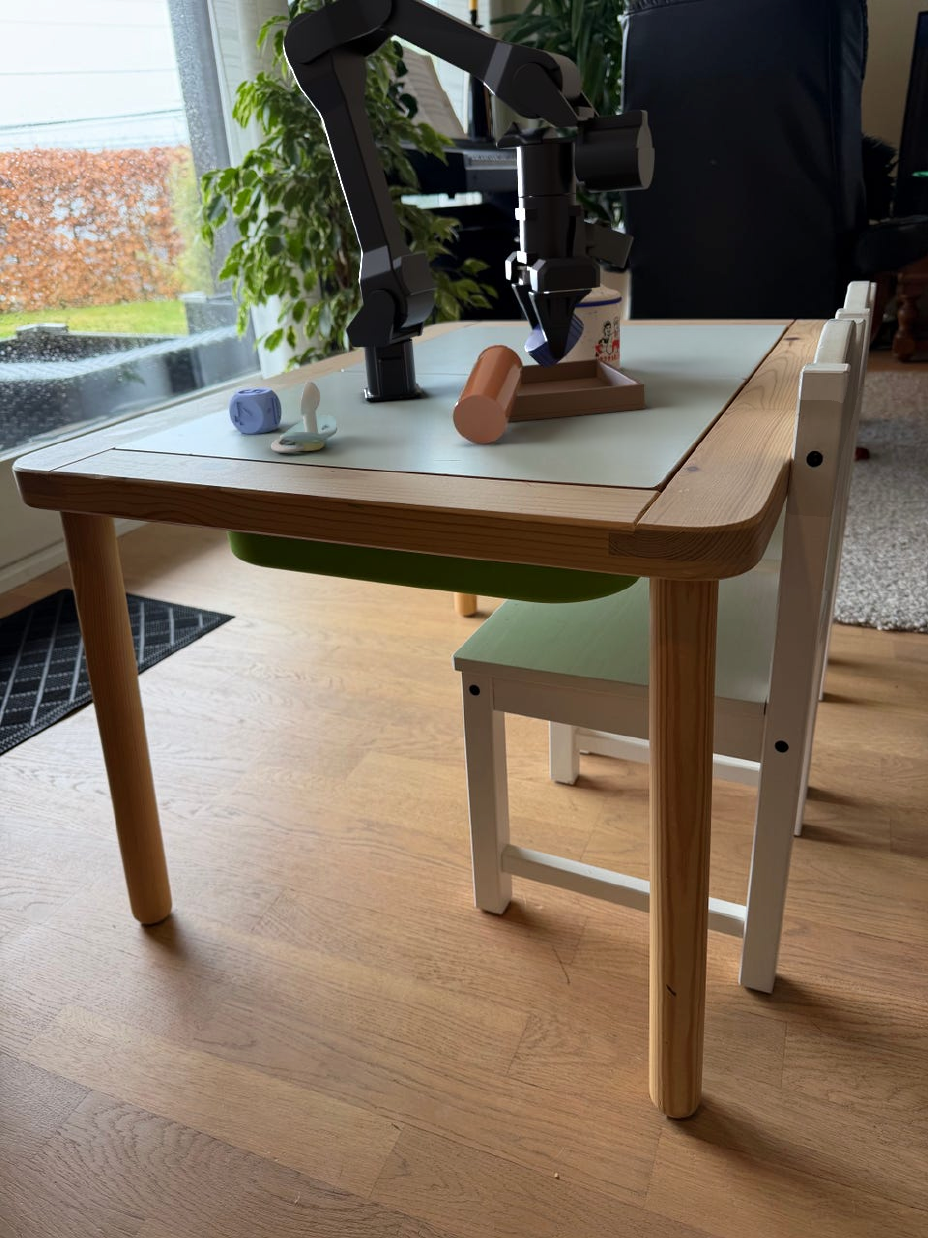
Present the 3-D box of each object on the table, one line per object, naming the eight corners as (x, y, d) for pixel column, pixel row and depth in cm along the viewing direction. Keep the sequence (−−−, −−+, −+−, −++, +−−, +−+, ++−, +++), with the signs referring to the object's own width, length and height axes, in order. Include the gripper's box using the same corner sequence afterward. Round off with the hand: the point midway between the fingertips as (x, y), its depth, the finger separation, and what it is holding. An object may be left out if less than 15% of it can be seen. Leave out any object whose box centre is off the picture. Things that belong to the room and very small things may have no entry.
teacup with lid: (609, 379, 112) (608, 275, 108) (537, 377, 116) (534, 277, 111) (636, 361, 122) (637, 265, 117) (570, 360, 126) (568, 267, 121)
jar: (449, 437, 88) (472, 384, 96) (501, 449, 88) (520, 394, 96) (456, 389, 85) (479, 338, 93) (510, 401, 85) (529, 349, 93)
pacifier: (261, 459, 89) (323, 455, 88) (249, 392, 86) (312, 387, 85) (287, 440, 95) (344, 436, 94) (275, 377, 93) (334, 372, 92)
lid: (545, 376, 100) (527, 359, 99) (538, 355, 106) (521, 339, 104) (588, 333, 98) (571, 315, 97) (580, 314, 103) (563, 297, 102)
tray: (474, 391, 111) (472, 369, 110) (600, 379, 112) (600, 358, 111) (497, 422, 95) (496, 398, 94) (644, 408, 97) (644, 384, 96)
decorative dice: (266, 434, 98) (260, 395, 96) (232, 434, 99) (225, 395, 97) (284, 425, 101) (278, 387, 100) (251, 424, 102) (245, 387, 101)
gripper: (653, 189, 88) (651, 361, 94) (601, 190, 105) (601, 336, 111) (535, 197, 87) (541, 371, 93) (501, 198, 104) (508, 344, 110)
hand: (551, 354), depth 102 cm, fingers closed on lid, 6 cm apart
